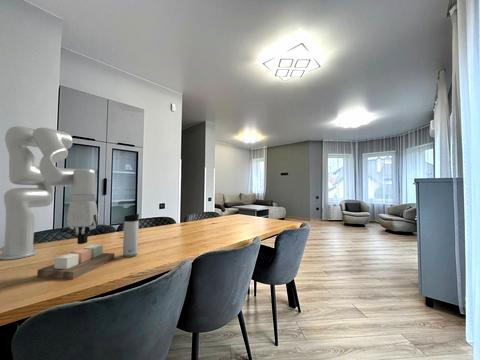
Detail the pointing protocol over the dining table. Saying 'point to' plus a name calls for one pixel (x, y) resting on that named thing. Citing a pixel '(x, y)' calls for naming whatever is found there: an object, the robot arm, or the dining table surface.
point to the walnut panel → (75, 268)
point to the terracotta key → (83, 255)
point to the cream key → (66, 261)
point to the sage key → (95, 250)
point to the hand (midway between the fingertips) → (82, 243)
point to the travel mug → (130, 235)
